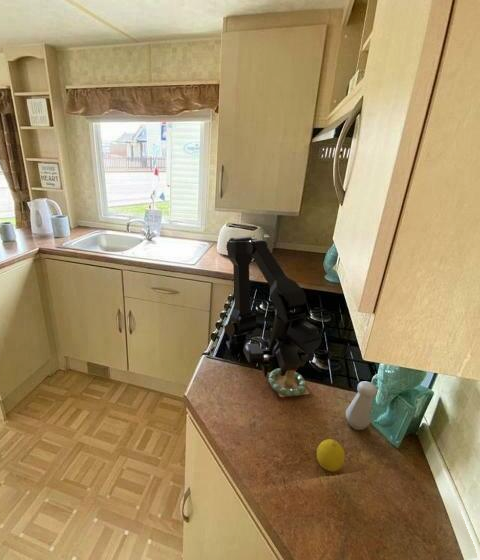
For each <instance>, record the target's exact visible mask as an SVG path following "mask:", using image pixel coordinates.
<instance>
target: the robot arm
mask: <svg viewBox="0 0 480 560" xmlns="http://www.w3.org/2000/svg"><path fill="white" fill-rule="evenodd" d="M225 246H226V251H227V258H228V259H229V261H230V262H231V264H232V266H233V267H232V268H233V294H234V295H233V297H234V298H233V299H234V308H233V310H232V311H231V313H230V316H229V323H227V324H225V325H224V326H223V328H224V329H223V331H224V333H225V334H226V335H227V336H228V337H229V340H226V341H225V344H226V347H227V350H228V351H229V353H230V354H232V355H233V354H244V357H245V358H246V360H247V362H248V364H250V365H260V366H261V369H262V374H263V376H264V378H267V377H268V373H269V367H270V365H272V363H271V362H270V358H271V357H273V358H276V360H277V363H278V365H279V369H281V376H284V375H285V373H286V372H287V371H290V370H293V371H295V370H296V371H297V370H298V369H299V367H305V365H306V364H307V363H308V362H313V360H314V358H315V351H316V350H317V349H318V348H319V347H320V346H321V344H322V341H323V340H322V334H320V332H319V328H318V327H317V326H315V325H313V324H311V323H310V322H309V321H308V320H307V319H310V318H312V314H311V308H310V306H309V304H308V300H307V296H306V293H305V291H304V289H303V288H302V287H301V286H300V285H299V283H297V281H295V280H293V279H291V278H289V277H288V276H287V275H286V274H285V272H284V270H283V269H282V267H281V266H280V264H279V263H278V261H277V260H276V258H275V257H274V255H273V253H272V252H271V251H270V249H269V247H268V243H267V241H266V240H265V239H262V238H260V239H259V238H252V237H251V236H250V235H243V236H238V237H237V236H236V237H230V238H229V239H228V241H227V242H226V244H225ZM253 260H254V262H255V264H256V265H257V267H258V269H259V271H260V272H261V274H262V276H263V277H264V279H265V280H266V283H267V284H268V286H269V289H270V290H269V297H270V299H271V301H272V303H273V305H272V306H270V310H271V311H273V312H274V318H273V323H272V327H270V328H269V333H270V338H269V339H268V340H267V346H268V347H266V348H261V346H260V344H259V343H247V337H248V335H252V334H253V333H254V331H256V329H257V326H258V324H257V318H258V317H257V314H256V313H254V312H253V311H252V308H251V291H250V288H251V287H250V283H251V282H250V265H251V263H252V261H253ZM299 309H300V310H299ZM294 310H299V311H295V312H294ZM296 371H295V372H296Z"/></svg>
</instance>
